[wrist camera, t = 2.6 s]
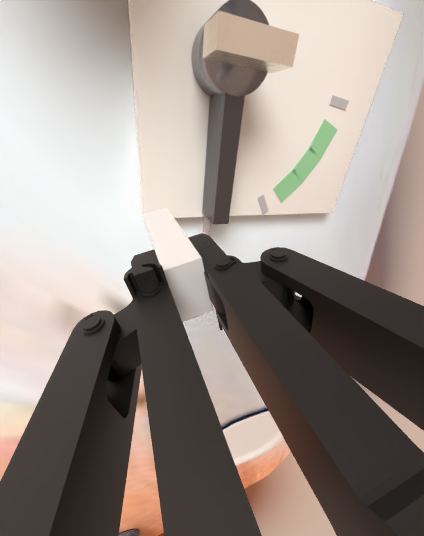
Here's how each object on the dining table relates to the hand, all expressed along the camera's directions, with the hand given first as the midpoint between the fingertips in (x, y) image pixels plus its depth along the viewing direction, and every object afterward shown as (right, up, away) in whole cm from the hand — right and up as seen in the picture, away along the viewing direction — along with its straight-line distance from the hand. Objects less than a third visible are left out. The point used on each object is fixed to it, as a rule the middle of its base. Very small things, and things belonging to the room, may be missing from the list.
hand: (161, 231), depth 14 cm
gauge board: (+8, +11, +7) cm, 15 cm away
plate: (+13, -45, +46) cm, 65 cm away
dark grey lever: (+3, +9, +5) cm, 10 cm away
